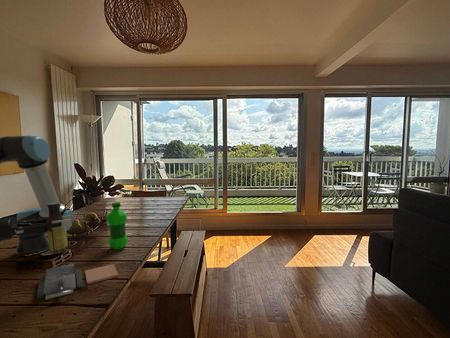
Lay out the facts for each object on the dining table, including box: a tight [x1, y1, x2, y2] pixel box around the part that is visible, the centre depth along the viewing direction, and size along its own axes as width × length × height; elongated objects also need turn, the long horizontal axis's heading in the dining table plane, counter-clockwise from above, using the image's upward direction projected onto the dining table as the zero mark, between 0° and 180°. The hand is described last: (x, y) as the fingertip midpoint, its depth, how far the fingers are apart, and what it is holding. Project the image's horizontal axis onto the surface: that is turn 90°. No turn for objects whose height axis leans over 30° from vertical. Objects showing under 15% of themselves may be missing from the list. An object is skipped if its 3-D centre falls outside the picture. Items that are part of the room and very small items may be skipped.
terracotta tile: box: [84, 263, 119, 285], centre depth 115 cm, size 12×12×1 cm
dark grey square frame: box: [36, 262, 84, 300], centre depth 104 cm, size 21×15×5 cm
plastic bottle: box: [106, 201, 129, 250], centre depth 145 cm, size 10×10×25 cm
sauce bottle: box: [47, 201, 69, 255], centre depth 105 cm, size 6×6×20 cm
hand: (71, 220), depth 108 cm, fingers closed on sauce bottle, 6 cm apart
